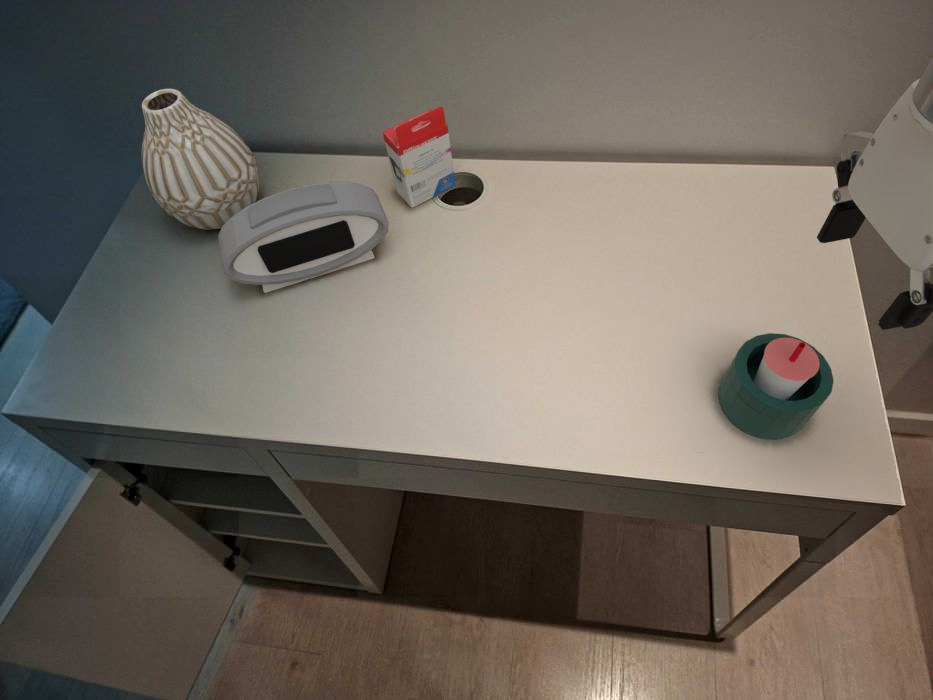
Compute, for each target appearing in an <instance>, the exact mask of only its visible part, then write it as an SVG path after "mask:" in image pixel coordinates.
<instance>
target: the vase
mask: <svg viewBox="0 0 933 700" xmlns="http://www.w3.org/2000/svg"><path fill="white" fill-rule="evenodd" d="M141 110H142V114H143V118H144V126H145V127H144V132H143V137H142V145H141V166H142V171H143V176H144V178H145V182H146V184H147V187H148V190H149V192H150V194H151V196H152V198H153V199H154V200H155V201H156V203H157V204H158V205H159V206H160V208H162V210H164V212H166V214H168V215H169V216H170V217H171V218H173V219H174V220H175V221H178V222H180V223H182V224H183V225H186V226H188V227H191V228H195V229H199V230H207V231H208V230H221V228H222V226H223V225H224V224H225V223H226V222H227V221H228V220H229V219H230V218H231V217H232V216H234V215H235V214H237V213H238V212H240V211H241V210H243V209H244V208H246V207H247V206H249V205H251V204H253V203H255V202H257V199H258V194H259V190H260V173H259V168H258V165H257V162H256V158H255V157H254V153H253V152H252V151H251V149H250V147H249V146H248V144H247V143H246V142H245V141H244V140H243V138H242V137H241V136H240V134H238V133H237V132H236V131H235V130H234V129H233V128H232V127H231V126H230V125H228V124H227V123H226V122H225V121H223V120H221V119H220V118H218V117H217V116H215V115H213V114H211V113H210V112H208V111H205V110H204V109H202V108H199V107H198V106H196V105H195V104H194V103H192V102H191V101H190V100H189V99H188V98H187V97H186V96H185V95H184V94H183V93H182V92H181V91H180V90H178V89H175V88H162V89H159V90H156V91H154V92H151V93H150V94H149V95H147V96H145V98H144V99H143V100H142V103H141Z"/></svg>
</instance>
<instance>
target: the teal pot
mask: <svg viewBox="0 0 933 700" xmlns="http://www.w3.org/2000/svg"><path fill="white" fill-rule="evenodd" d="M778 338H793V339H797V340H800V341H802V342H804V343H806V344H807V345H809V346H810V347H811V348H812V349H813V350H814V351H815V352H816V354H817V356H818V358H819V363H820V365H819V370H818V372H817V373H816V374H815V375H814V376H813V377H811V378H810V379H808V380H807V381H806V382H805V383H804V384H803V385H802V386H801V387H800V388H799V389H798V390H797V391H796V392H795V393H794V394H793V395H791V396H790V397H789V398H788V399H787V400H780V399H777V398H774V397H771V396H769V395H768V394H766V393H765V392H763V391H761V390H760V389H759V388H758V387H757V386H756V385H755V384H754V383H753V382H754V379H755V376H756V374H757V371H758V369H759V366H760V364H761V361H762V359H763V356H764V351H765V348H766V346H767V345H768V344H769V343H770V342H771V341H773V340H775V339H778ZM834 382H835V381H834V376H833V371H832V368H831V366H830V364H829V362H828V360H827V359H826V358H825V356H824V354H822V353H821V352H820V351H819V350H818V349H816V348H815V346H813V345H811V344H810V343H808V342H806V341H805V340H803V339H801V338H799V337H795V336H792V335H789V334H786V333H772V332H770V333H764V334H759V335H755V336H753V337H752V338H750V339H747V341H745V342H743V344H742V345H741V346H740V348H739V349H738V350H737V352H736V354H735V356H734V358H733V359H732V361H731V363H730V365H729V366H728V369H727V371H726V372H725V374H724V376H723V378H722V380H721V383H720V384H719V389H718V401H719V405H720V409H721V410H722V412H723V414H724V415H725V417H726V418H727V419H728V421H730V423H731V424H733V425H734V426H735V427H736V428H738V429H739V430H740V431H742V432H743V433H745V434H747V435H749V436H752V437H755V438H757V439H763V440H781V439H786V438H789V437H792V436H794V435H795V434H797V433H798V432H799V431H801V429H802V428H803V427H804V426H805V425H806V424H807V423H808V421H810V419H811V418H812V417H813V415H815V414H816V412H817V411H818V410H819V409H820V407H822V405H823V404H824V403H825V402H826V400H827V399H828V397H829V396H830V395H831V393H832V392H833V387H834Z"/></svg>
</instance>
